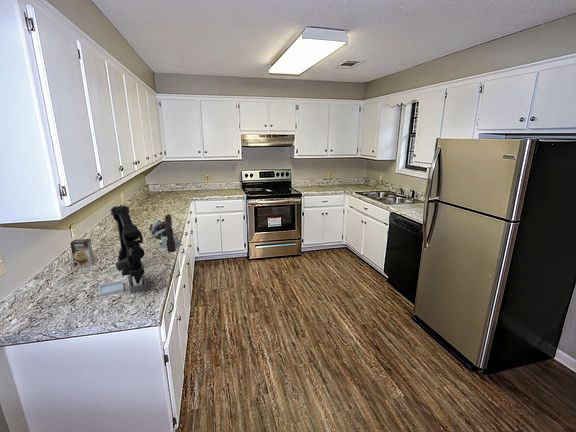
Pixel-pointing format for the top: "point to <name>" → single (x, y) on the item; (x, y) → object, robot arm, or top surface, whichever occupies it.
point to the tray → (110, 288)
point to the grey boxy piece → (137, 288)
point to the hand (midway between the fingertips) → (137, 281)
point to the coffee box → (82, 253)
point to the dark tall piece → (169, 236)
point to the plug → (136, 283)
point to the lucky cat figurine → (158, 229)
